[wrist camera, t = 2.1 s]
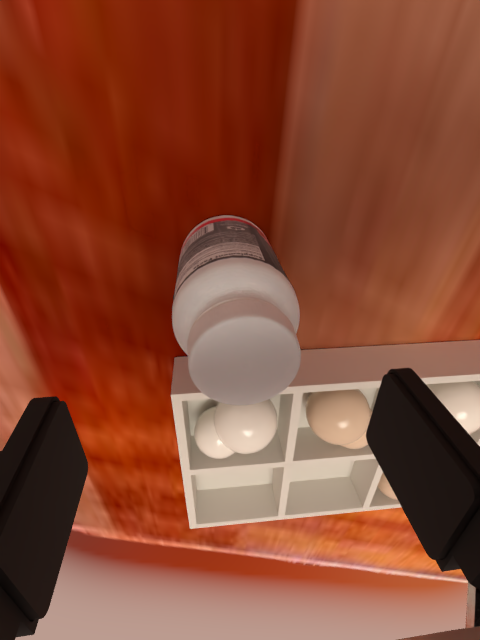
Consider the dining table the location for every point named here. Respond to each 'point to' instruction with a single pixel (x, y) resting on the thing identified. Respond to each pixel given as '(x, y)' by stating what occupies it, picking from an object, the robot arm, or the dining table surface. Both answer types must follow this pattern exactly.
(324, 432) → the brown egg
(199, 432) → the cream egg
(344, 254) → the dining table surface
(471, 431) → the cream egg
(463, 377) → the grey compartment tray
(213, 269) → the pill bottle
